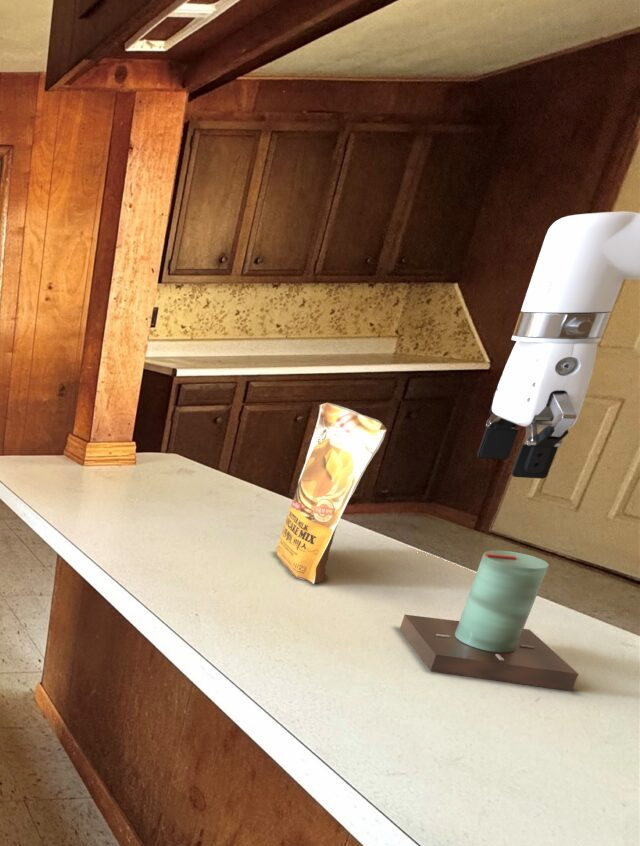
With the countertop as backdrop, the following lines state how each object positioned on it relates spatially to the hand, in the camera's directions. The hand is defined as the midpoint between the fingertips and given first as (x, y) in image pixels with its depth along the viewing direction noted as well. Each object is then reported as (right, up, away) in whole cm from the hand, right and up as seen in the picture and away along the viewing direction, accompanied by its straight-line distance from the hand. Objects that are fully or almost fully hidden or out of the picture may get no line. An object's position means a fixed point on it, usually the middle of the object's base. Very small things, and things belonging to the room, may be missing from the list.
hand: (509, 467), depth 85 cm
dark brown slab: (0, -25, +4) cm, 26 cm away
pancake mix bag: (-3, -14, +34) cm, 36 cm away
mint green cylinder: (0, -23, +3) cm, 23 cm away
